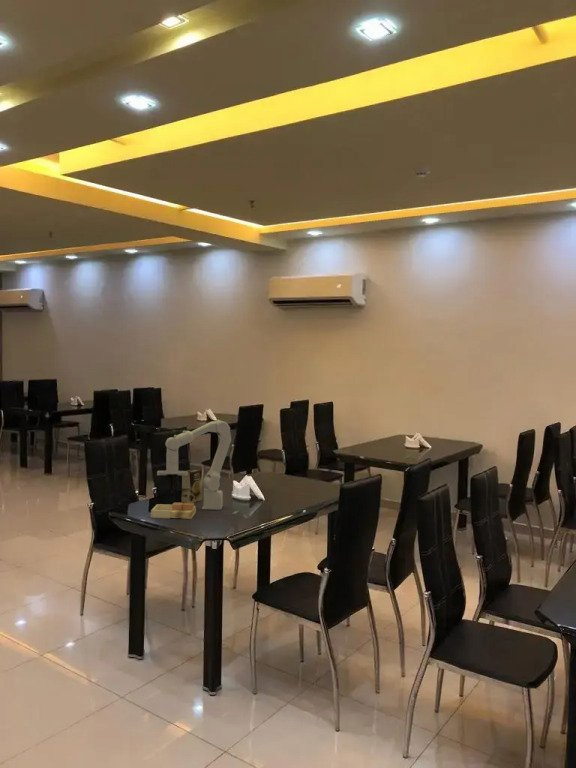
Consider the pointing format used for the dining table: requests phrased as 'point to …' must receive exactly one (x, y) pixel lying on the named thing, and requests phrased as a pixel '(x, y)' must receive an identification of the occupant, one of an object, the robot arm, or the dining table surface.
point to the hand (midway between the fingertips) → (172, 490)
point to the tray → (161, 511)
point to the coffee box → (191, 486)
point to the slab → (183, 513)
